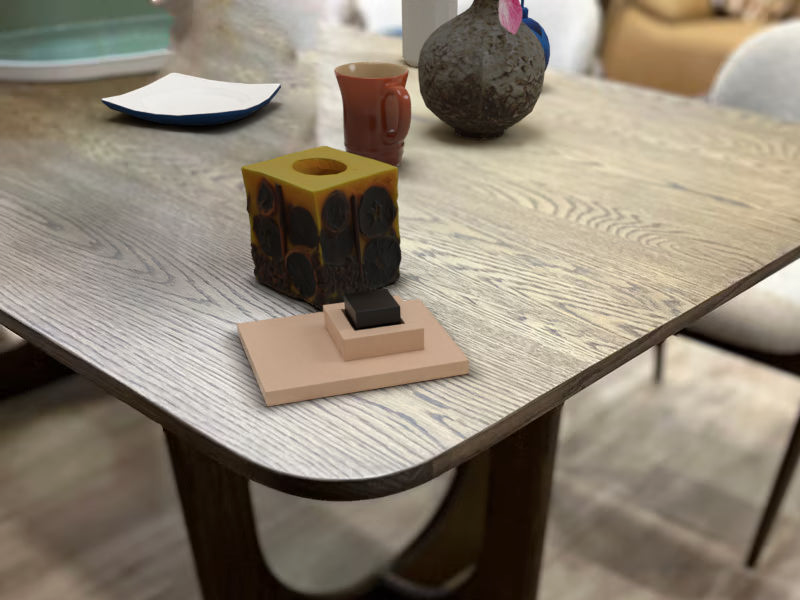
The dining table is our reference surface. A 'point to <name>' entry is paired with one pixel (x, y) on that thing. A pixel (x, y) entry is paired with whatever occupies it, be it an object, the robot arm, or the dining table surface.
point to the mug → (375, 109)
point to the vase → (482, 69)
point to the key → (372, 309)
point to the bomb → (537, 32)
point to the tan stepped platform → (347, 353)
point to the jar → (423, 24)
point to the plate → (193, 100)
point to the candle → (323, 224)
